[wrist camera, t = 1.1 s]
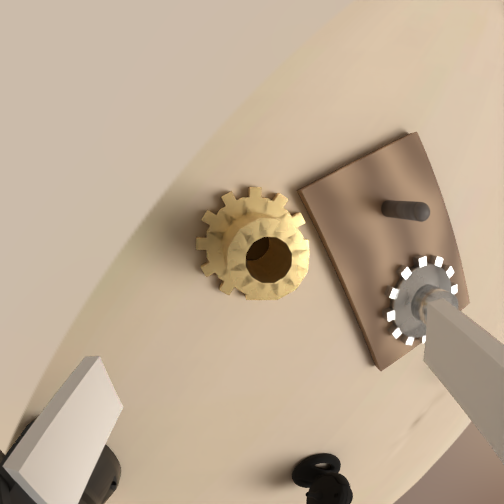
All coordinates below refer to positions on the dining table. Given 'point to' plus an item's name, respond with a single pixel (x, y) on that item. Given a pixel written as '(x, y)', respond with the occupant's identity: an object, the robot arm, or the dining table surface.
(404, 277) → the steel gear
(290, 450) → the dining table surface
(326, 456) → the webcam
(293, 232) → the brass gear
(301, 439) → the dining table surface
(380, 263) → the gear board
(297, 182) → the dining table surface
